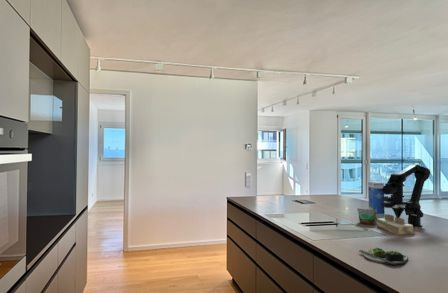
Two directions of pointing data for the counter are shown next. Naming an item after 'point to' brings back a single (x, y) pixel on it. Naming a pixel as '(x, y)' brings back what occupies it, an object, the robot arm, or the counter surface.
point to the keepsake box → (395, 228)
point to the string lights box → (376, 197)
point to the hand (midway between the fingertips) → (397, 218)
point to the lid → (399, 223)
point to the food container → (367, 216)
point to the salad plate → (385, 256)
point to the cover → (387, 218)
